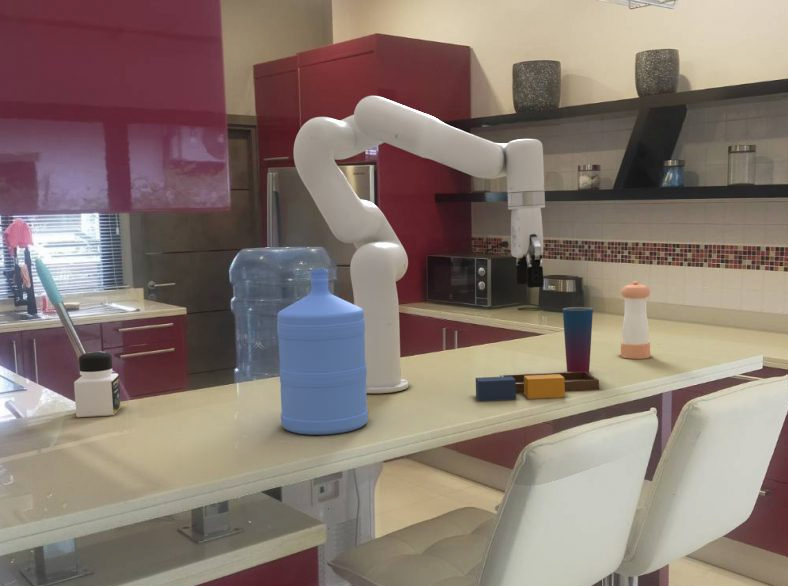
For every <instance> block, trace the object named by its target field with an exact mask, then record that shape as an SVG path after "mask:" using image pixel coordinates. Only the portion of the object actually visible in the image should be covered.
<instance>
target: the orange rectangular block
mask: <svg viewBox="0 0 788 586" xmlns="http://www.w3.org/2000/svg"><path fill="white" fill-rule="evenodd" d="M523 395H524V396H525V397H526V398H527V399H528V400H534V399H535V400H537V399H554V398H556V399H557V398H566V391H565V378H564V377H563V376H561V375H560V374H552V375H529V376H524V393H523Z"/></svg>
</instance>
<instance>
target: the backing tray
mask: <svg viewBox="0 0 788 586" xmlns="http://www.w3.org/2000/svg"><path fill="white" fill-rule="evenodd" d="M552 374H560V375H561V376H563V377H564V378H565V392H569V391H570V392H571V391H574V392H575V391H593V390H594V391H595V390H596V391H597V390H600V380H599V379H598V378H597V377H595V376H594V375H592V374H590V372H589V373H587V372H586V371H582V372H567V371H561V372H560V371H559V372H539V373H537V372H536V373H517V374H516V373H515V374H500V375H499V377H505V376H512V377H513V378H514V379H515V380H516V394H524V376H529V375H552Z"/></svg>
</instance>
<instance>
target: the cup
mask: <svg viewBox="0 0 788 586" xmlns="http://www.w3.org/2000/svg"><path fill="white" fill-rule="evenodd" d="M593 312H594V308H593V307H588V306H587V307H585V306H572V307H571V306H570V307H564V308H562V321H563V333H564V335H563V336H564V345H565V346H564V350H565V364H566V372H582V371H586V372H587V373H589V374H590V368H591V367H590V366H591V365H590V364H591V350H592V349H591V348H592V346H591V345H592V332H593V314H594V313H593Z"/></svg>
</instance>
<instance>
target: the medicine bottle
mask: <svg viewBox="0 0 788 586" xmlns="http://www.w3.org/2000/svg"><path fill="white" fill-rule="evenodd" d="M112 358H113V357H112V354H111V353H109V352H107V351H91V352H85V353H82V354H81V355H79V357H78V366H79V367H78V368H79V375H80V377H79V378H77V379H76V380H75V381H74V382H73V389H74V402H75V414H76V415H75V416H76V417H77V418H93V417H108V416H109V417H110V416H115V414H116V413H118V411H119V410H120V409H121V407H122V406H121V405H122V403H121V391H120V375H119V373H115V372H113V371H114V370H113V359H112Z"/></svg>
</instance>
